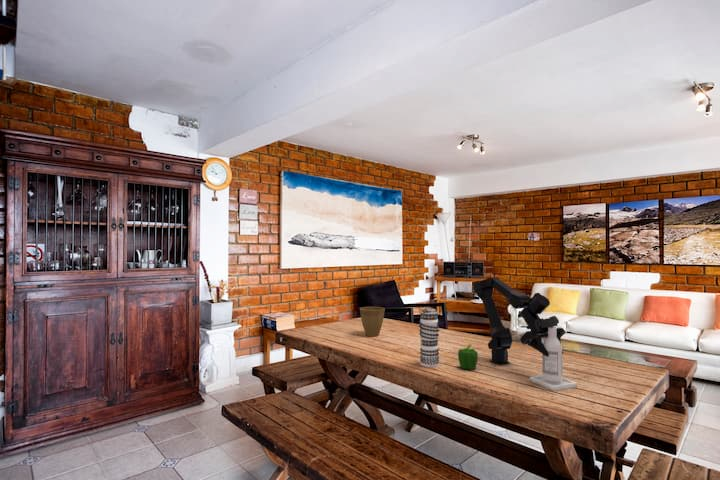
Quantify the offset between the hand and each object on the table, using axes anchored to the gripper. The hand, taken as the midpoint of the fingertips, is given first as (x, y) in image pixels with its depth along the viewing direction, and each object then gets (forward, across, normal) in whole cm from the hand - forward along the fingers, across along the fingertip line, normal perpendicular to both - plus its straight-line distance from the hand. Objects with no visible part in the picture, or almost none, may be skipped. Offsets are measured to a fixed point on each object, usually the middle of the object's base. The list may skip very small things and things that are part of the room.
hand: (555, 355), depth 153 cm
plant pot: (-63, -32, +82) cm, 108 cm away
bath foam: (+6, 0, +8) cm, 10 cm away
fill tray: (+7, 0, +9) cm, 12 cm away
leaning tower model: (-20, -31, +38) cm, 53 cm away
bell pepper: (-12, -18, +30) cm, 37 cm away
